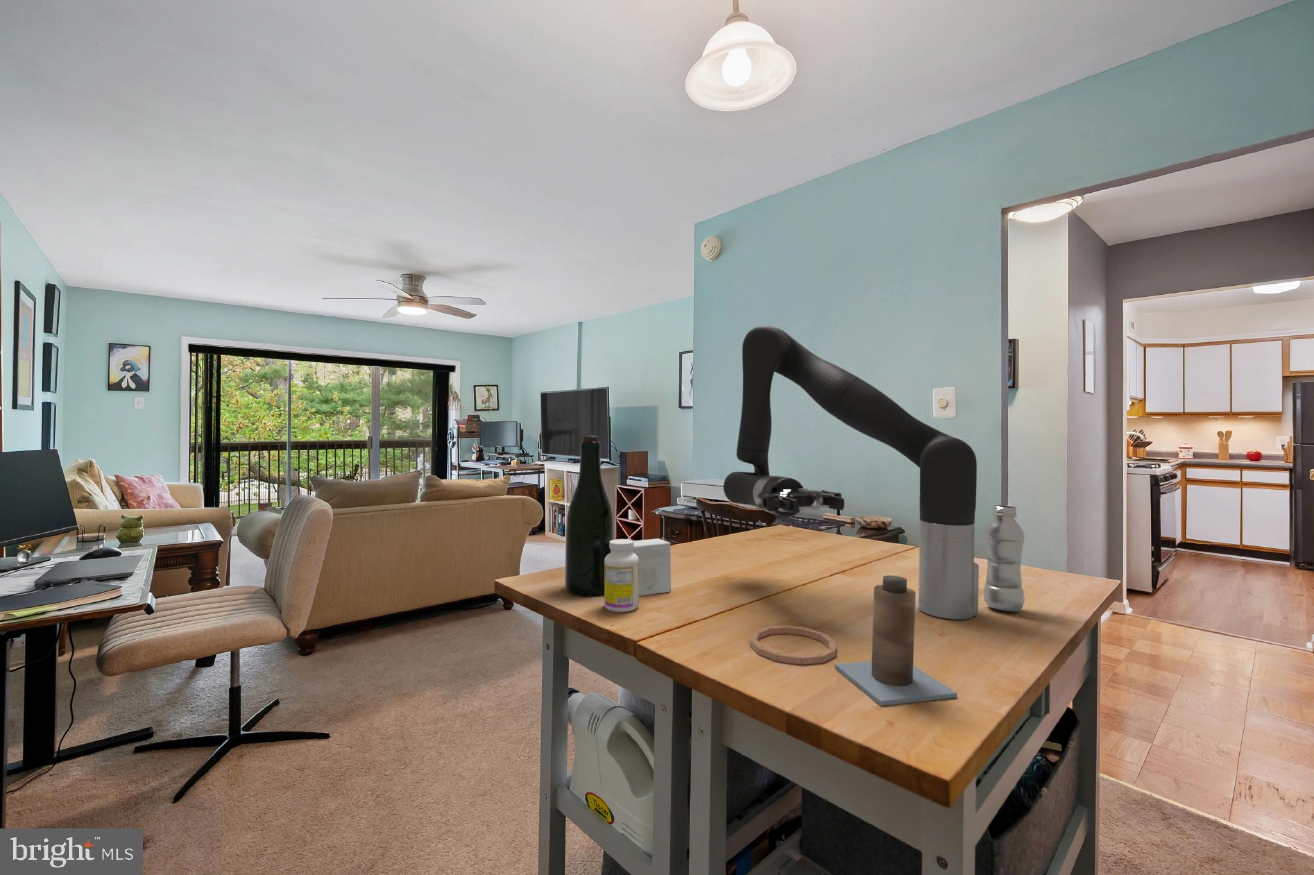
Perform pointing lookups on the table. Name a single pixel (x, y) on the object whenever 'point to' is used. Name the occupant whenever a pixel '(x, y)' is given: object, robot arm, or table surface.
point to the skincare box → (653, 566)
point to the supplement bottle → (621, 577)
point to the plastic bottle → (1004, 560)
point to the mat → (890, 694)
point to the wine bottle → (588, 525)
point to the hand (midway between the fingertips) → (818, 505)
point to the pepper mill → (893, 632)
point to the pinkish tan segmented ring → (793, 658)
